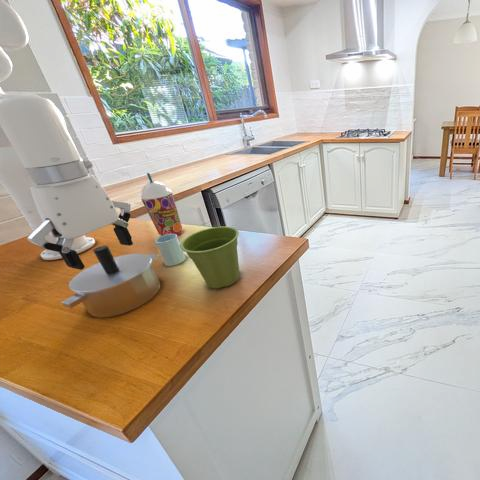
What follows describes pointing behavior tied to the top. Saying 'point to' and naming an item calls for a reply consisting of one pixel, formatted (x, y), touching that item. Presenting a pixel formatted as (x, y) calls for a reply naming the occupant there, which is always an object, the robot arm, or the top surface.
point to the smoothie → (161, 207)
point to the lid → (109, 271)
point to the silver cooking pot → (119, 295)
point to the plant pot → (214, 255)
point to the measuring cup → (170, 249)
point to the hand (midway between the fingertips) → (104, 255)
